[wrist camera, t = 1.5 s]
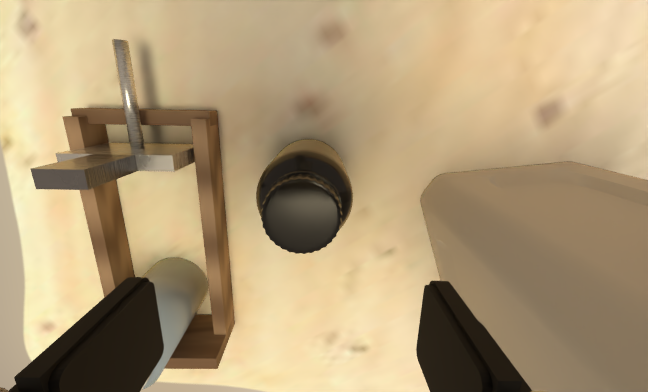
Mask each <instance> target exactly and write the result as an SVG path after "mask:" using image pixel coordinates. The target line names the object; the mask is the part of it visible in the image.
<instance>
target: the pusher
mask: <svg viewBox="0 0 648 392" xmlns="http://www.w3.org/2000/svg"><path fill="white" fill-rule="evenodd" d="M112 43H113V49H114V55H115V60H116V66H117V72H118V78H119V84H120V89H121V95H122V101H123V107H124V113H125V118H126V124H127V130H128V136H129V142H130V143H105V144H100V145H95V146H90V147H85V148H80V149H75V150H70V151H65V152H60V153H56V157H57V161H58V162H57V163H53V164H49V165H45V166H40V167H36V168H32V169H31V172H32V176H33V179H34V183H35V186H36V189H69V190H89V189H92V188H94V187H97V186H100V185H102V184H105V183H107V182H110V181H113V180H115V179H118V178H120V177H123V176H126V175H128V174H131V173H133V172H136V171H176V170H178V169H180V168H183V167H185V166H187V165H189V164H191V163H193V162H195V155H194V146H193V144H163V143H144V140H143V133H142V127H141V121H140V114H139V108H138V102H137V95H136V89H135V83H134V76H133V70H132V64H131V57H130V51H129V45H128V41H125V40H116V39H114V40H112Z"/></svg>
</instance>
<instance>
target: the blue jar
mask: <svg viewBox="0 0 648 392" xmlns="http://www.w3.org/2000/svg"><path fill="white" fill-rule="evenodd" d="M143 277H146V278H148V279H149V281H150V282H153V283H154V286H155V293H156V299H157V305H158V311H159V318H160V324H161V330H162V337H163V343H164V351H163V355H162V357H161V359H160V360H159V362H158V364H157V365H156V367H155V368H154V370H153V371H152V373H151V375H150V376H149V378H148V379H147V381H146V382H145V384H144V386H143V387H142V389H141V390H143V389H145V388H147V387H149V386H151V385H152V384H153V383H155V381H156V380H157V379H158V378H159V376H160V375H161V373H162V371H163V369H164V368H165V366H166V364H167V362H168V361H169V359H170V357H171V356H172V354H173V352H174V350H175V349H176V347H177V345H178V344H179V342H180V340H181V338H182V337H183V335H184V333H185V332H186V330H187V328H188V326H189V325H190V323H191V321H192V320H193V318H194V316H195V314H196V313H197V311H198V309H199V308H200V306H201V304H202V302H203V301H204V299H205V297H206V295H207V292H208V281H207V278H206V276H205V274H204V272H203V271H202V270H201V269H200V268H199V267H198V266H197V265H196V264H194V263H192V262H191V261H188V260H186V259H182V258H166V259H163V260H161V261H159V262H157V263H156V264H155V265H154V266H153V267H152V268H151V269H150V270H149V271H148V272H147V273H146V274H145V275H144V276H143ZM141 390H140V391H141Z"/></svg>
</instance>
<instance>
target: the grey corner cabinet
mask: <svg viewBox="0 0 648 392" xmlns="http://www.w3.org/2000/svg"><path fill="white" fill-rule="evenodd" d="M421 206H422V210H423V214H424V218H425V222H426V225H427V229H428V233H429V237H430V241H431V245H432V249H433V253H434V257H435V260H436V264H437V268H438V272H439V276H440V280H441V281H449V282H450V283H451V285H452V286H453V287H454V289H455V290H456V291H457V293H458V294H459V296H460V297H461V298H462V300H463V301H464V302H465V304H466V305H467V306H468V308H469V309H470V310H471V312H472V313H473V315H474V316H475V317H476V319H477V320H478V321H479V322H481V323H482V324H483V325H484V327H485V328H486V329H487V331H488V332H489V333H490V335H491V336H492V337H493V339H494V340H495V341H496V343H497V344H498V345H499V347H500V348H501V349H502V351H503V352H504V353H505V355H506V356H507V358H508V359H509V360H510V362H511V363H512V364H513V366H514V367H515V368H516V370H517V371H518V372H519V374H520V375H521V376H522V378H523V379H524V380H525V382H526V383H527V384H528V386H529V387H530V388H531V390H532V391H546V392H648V180H645V179H641V178H637V177H633V176H628V175H624V174H620V173H616V172H612V171H608V170H604V169H599V168H595V167H591V166H587V165H583V164H579V163H575V162H559V163H548V164H538V165H527V166H517V167H506V168H496V169H486V170H475V171H465V172H454V173H444V174H440V175H439V176H437V177H435V178H434V179H433V181H432V182H431V183H430V184H429V186H428V187H427V188H426V190H425V191H424V192H423V194H422V196H421Z"/></svg>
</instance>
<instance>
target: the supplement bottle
mask: <svg viewBox="0 0 648 392" xmlns="http://www.w3.org/2000/svg"><path fill="white" fill-rule="evenodd" d="M256 199H257V206H258V210H259V213H260V215H261V217H262V218H261V220H262V222H263V228H264V229H265V230H266V234H267V235H268V236H269V237H270V240H272V241H274V243H275V244H276V245H278V246H280V247H281V248H282V249H286V250H287V251H289V252H295V253H303V254H305V253H308V252H309V253H312V252H314V251H318V250H320V249H321V248H323V247H326V246H327V244H328V243H330V242H332V239H333V238H335V237H336V234H337V232H338V231H339V229H340V228H341V227H342V226H343V225H344V223H345V222H346V220H347V219H348V216H349V214H350V212H351V208H352V202H353V193H352V187H351V183H350V180H349V177H348V175H347V172H346V170H345V167H344V165H343V162H342V160H341V158H340V157H339V155H338V154H337V152H336V151H335V150H334V149H333V148H332V147H330V146H329V145H327V144H326V143H324V142H321V141H318V140H314V139H303V140H298V141H295V142H293V143H291V144H289V145H288V146H286V147H285V148H284V149H283V150H282V151H281V152H280V153H279V154H278V155H277V156H276V157H275V158H274V160H273V161H272V162H271V163H270V164H269V165H268V166H267V168H266V169H265V171H264V172H263V174H262V176H261V178H260V180H259V183H258V187H257V193H256Z"/></svg>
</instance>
